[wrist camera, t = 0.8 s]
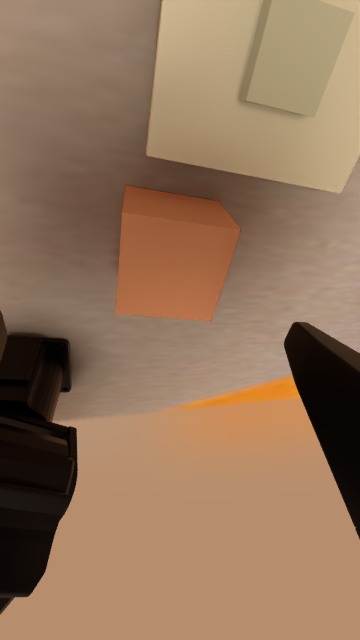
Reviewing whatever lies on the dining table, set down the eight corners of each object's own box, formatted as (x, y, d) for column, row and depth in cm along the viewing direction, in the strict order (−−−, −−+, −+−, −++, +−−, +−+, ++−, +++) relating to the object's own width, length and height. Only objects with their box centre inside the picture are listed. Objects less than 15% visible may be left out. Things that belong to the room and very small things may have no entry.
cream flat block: (328, 187, 19) (351, 199, 17) (145, 151, 16) (147, 160, 14) (437, -48, 13) (496, -75, 11) (177, -161, 10) (188, -223, 8)
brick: (198, 280, 22) (211, 321, 18) (119, 272, 21) (115, 313, 17) (219, 201, 19) (240, 230, 15) (125, 185, 17) (122, 212, 13)
